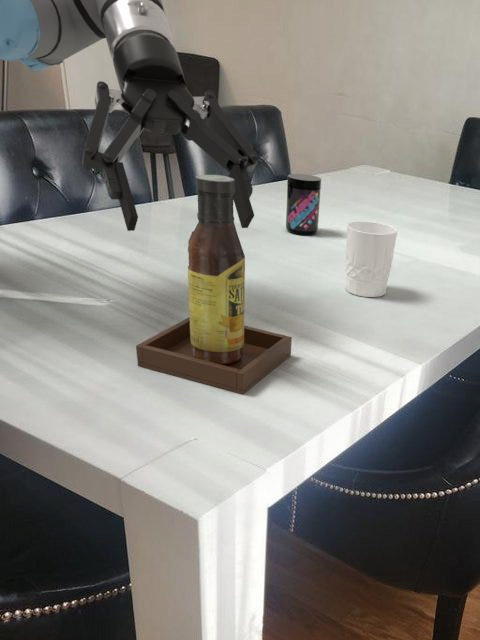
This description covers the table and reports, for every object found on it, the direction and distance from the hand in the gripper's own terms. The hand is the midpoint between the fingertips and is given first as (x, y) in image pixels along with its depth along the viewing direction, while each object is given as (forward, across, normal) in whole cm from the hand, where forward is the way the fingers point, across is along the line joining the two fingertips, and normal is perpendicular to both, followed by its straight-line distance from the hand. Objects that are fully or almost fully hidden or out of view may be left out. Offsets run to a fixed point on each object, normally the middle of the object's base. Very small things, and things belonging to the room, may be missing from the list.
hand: (193, 223), depth 74 cm
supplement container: (-24, +40, +44) cm, 64 cm away
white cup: (+2, +33, +19) cm, 38 cm away
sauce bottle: (+14, 0, +5) cm, 15 cm away
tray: (+15, 0, +6) cm, 16 cm away
